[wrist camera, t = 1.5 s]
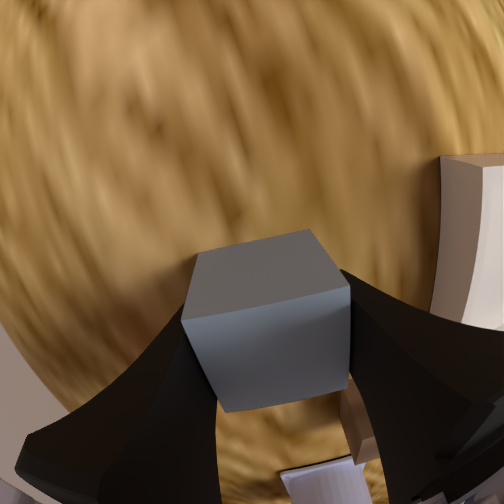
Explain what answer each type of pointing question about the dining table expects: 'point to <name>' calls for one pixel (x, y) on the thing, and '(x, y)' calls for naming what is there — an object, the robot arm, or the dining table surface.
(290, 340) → the gray block
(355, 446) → the walnut block
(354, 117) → the dining table surface
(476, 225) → the dish
